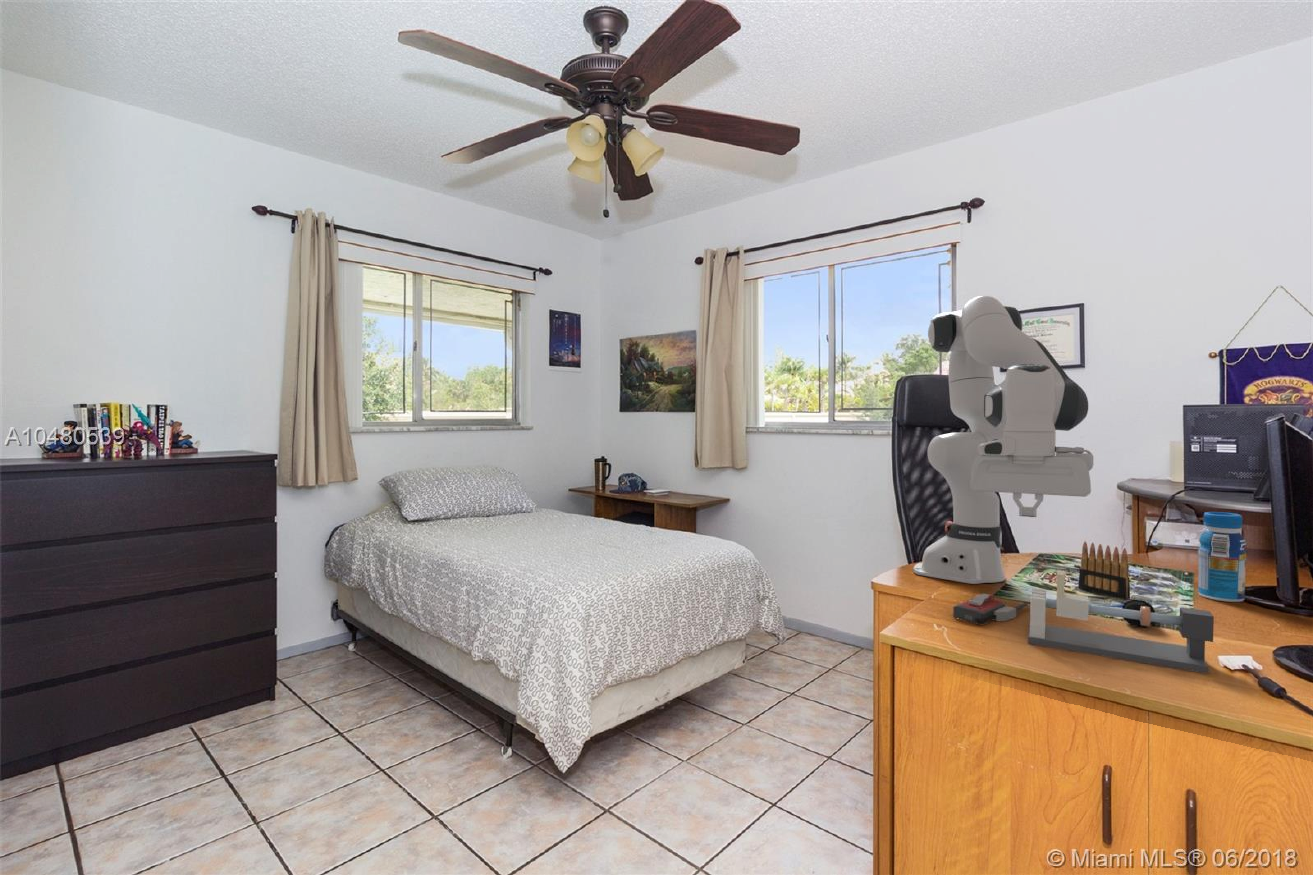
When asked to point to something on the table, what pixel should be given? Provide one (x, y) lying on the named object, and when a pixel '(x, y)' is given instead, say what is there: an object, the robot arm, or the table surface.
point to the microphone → (1136, 606)
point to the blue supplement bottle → (1222, 558)
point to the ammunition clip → (1104, 572)
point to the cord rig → (1188, 657)
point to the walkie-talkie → (985, 610)
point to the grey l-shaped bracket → (1070, 601)
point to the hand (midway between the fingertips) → (1027, 516)
